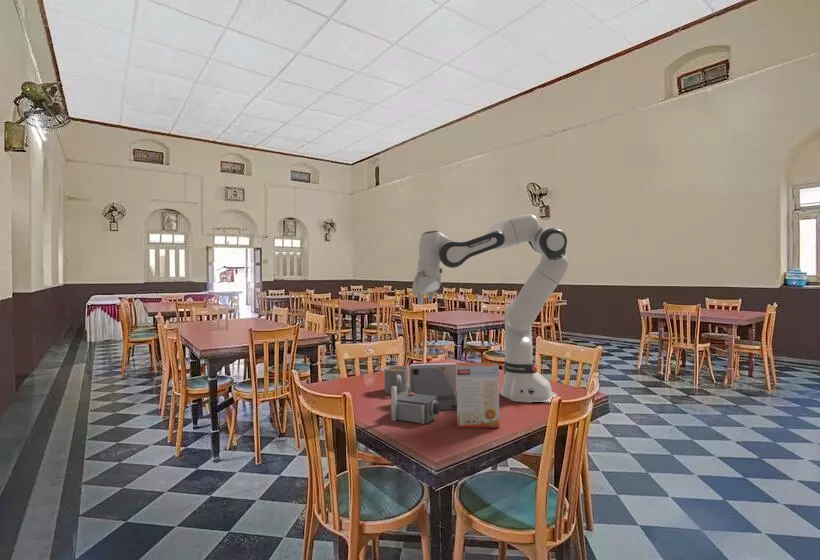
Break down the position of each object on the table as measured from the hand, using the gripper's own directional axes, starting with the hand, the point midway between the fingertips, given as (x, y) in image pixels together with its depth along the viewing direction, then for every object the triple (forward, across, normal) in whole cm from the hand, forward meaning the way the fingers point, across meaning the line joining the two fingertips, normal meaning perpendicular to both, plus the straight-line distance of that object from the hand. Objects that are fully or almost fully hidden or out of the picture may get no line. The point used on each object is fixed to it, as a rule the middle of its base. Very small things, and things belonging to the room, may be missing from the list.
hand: (425, 302), depth 182 cm
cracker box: (+33, -26, -35) cm, 54 cm away
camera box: (+36, -28, -12) cm, 47 cm away
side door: (+35, -34, -12) cm, 51 cm away
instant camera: (+38, -10, -12) cm, 41 cm away
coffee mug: (+40, -5, +8) cm, 41 cm away
